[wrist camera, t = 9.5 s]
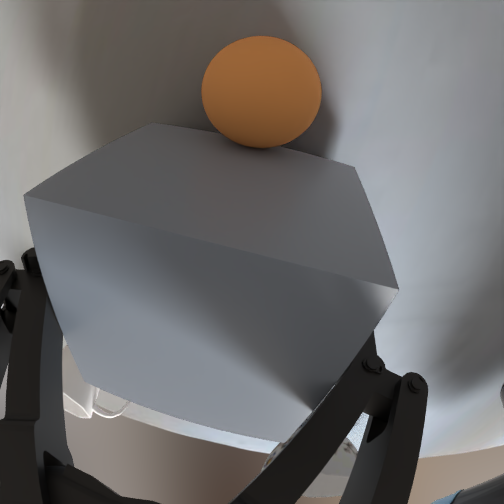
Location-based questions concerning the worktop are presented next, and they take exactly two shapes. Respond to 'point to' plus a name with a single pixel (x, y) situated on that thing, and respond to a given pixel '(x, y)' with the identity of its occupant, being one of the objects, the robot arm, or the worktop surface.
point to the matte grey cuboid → (211, 275)
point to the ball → (261, 91)
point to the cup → (80, 391)
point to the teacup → (327, 470)
